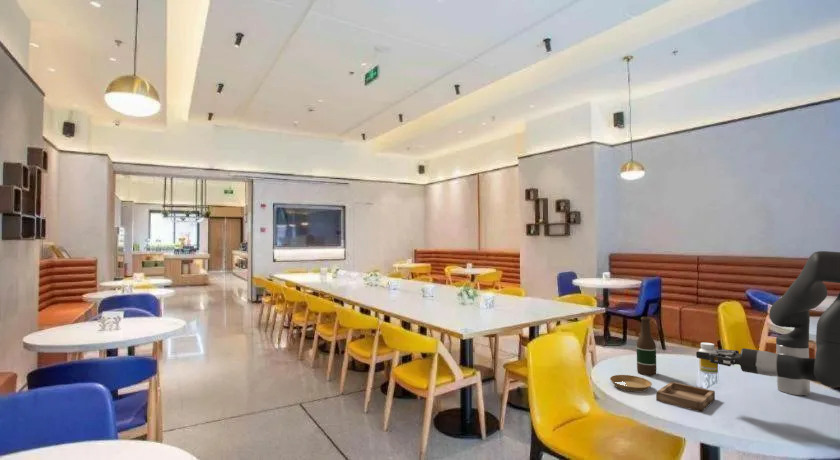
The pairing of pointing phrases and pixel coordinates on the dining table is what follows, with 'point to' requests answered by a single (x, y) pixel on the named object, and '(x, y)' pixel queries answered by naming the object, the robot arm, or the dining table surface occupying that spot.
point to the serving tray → (685, 396)
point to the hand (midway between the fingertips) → (699, 352)
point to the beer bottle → (646, 350)
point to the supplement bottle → (706, 364)
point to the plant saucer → (631, 383)
